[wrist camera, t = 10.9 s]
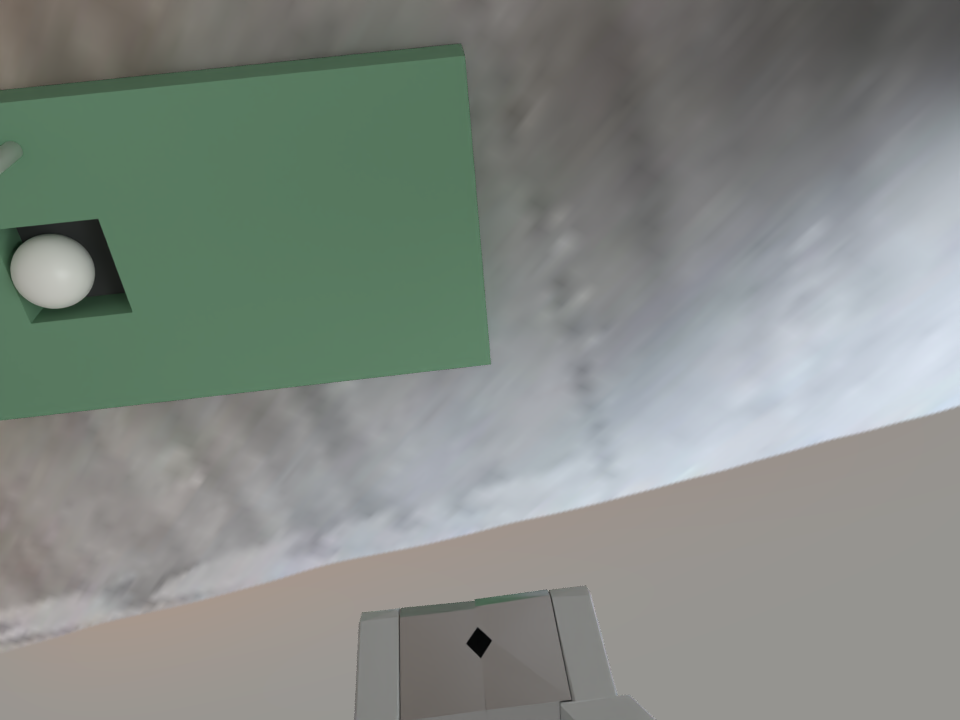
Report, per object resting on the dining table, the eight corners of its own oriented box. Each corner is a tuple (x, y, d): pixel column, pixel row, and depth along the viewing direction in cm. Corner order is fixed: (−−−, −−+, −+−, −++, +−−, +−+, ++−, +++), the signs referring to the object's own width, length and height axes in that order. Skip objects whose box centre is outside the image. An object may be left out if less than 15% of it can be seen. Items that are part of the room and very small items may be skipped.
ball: (85, 238, 37) (0, 261, 35) (111, 306, 39) (32, 330, 37) (73, 215, 39) (-6, 235, 38) (98, 279, 41) (24, 301, 40)
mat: (460, 43, 36) (501, 166, 22) (486, 340, 45) (526, 559, 31) (-165, 106, 35) (-527, 275, 21) (-14, 396, 44) (-201, 648, 30)
